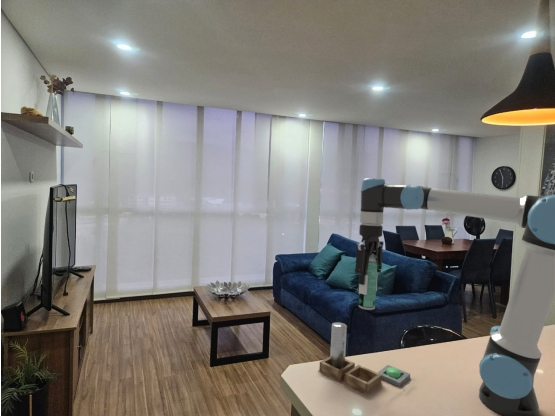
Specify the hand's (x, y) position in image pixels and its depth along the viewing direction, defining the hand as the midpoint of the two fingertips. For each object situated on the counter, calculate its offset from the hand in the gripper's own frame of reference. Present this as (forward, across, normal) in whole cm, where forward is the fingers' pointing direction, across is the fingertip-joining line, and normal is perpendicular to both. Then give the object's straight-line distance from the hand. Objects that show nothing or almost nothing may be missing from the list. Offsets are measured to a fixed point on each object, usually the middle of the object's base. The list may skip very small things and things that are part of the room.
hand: (367, 291), depth 120 cm
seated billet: (+27, +8, -6) cm, 29 cm away
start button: (+28, -4, +9) cm, 30 cm away
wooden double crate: (+29, +8, -1) cm, 30 cm away
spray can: (+6, 0, 0) cm, 6 cm away
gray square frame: (+29, -4, +9) cm, 30 cm away
